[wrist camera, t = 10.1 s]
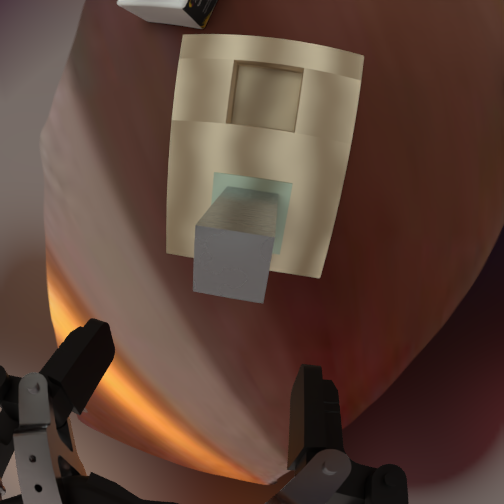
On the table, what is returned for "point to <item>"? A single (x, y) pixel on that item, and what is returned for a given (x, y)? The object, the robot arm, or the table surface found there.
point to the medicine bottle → (172, 11)
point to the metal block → (235, 244)
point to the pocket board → (262, 137)
